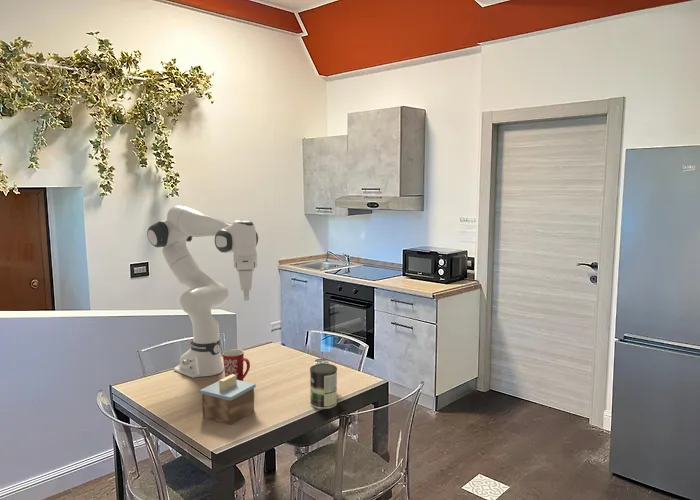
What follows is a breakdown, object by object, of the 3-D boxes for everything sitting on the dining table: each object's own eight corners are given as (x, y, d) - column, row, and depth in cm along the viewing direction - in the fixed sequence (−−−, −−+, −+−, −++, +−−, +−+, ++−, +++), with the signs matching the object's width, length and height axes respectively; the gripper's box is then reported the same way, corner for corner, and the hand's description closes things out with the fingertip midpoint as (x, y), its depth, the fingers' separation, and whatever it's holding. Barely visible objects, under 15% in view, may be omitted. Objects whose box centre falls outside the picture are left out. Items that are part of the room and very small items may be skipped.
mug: (218, 384, 220) (217, 353, 218) (233, 378, 228) (232, 347, 226) (241, 390, 213) (240, 358, 212) (256, 383, 221) (255, 352, 220)
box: (202, 417, 189) (201, 393, 188) (226, 403, 201) (226, 381, 200) (230, 424, 183) (230, 399, 182) (254, 410, 195) (253, 387, 194)
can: (327, 392, 212) (327, 363, 210) (312, 391, 213) (311, 362, 211) (331, 386, 218) (331, 358, 216) (316, 385, 219) (316, 357, 218)
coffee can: (310, 409, 196) (310, 373, 194) (310, 398, 206) (309, 363, 204) (338, 408, 196) (337, 372, 195) (336, 397, 207) (336, 363, 205)
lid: (199, 395, 188) (199, 380, 187) (226, 383, 200) (225, 368, 200) (230, 403, 182) (230, 387, 181) (255, 389, 194) (255, 374, 193)
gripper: (237, 259, 212) (238, 293, 213) (236, 266, 192) (237, 303, 194) (253, 258, 213) (254, 292, 215) (254, 265, 193) (255, 302, 195)
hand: (246, 297), depth 204 cm, fingers open, 8 cm apart
